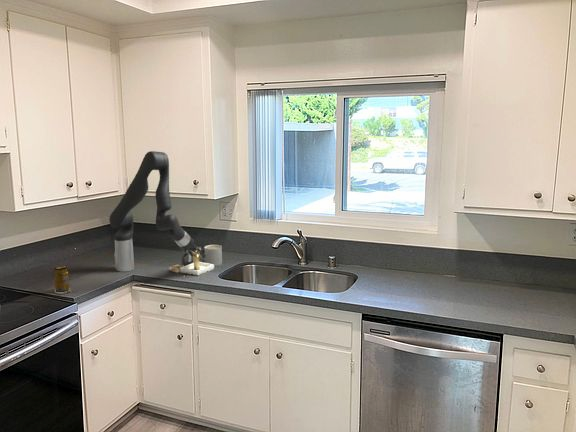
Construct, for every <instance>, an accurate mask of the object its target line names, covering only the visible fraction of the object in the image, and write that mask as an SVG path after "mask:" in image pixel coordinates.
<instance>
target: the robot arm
mask: <svg viewBox="0 0 576 432" xmlns="http://www.w3.org/2000/svg"><path fill="white" fill-rule="evenodd" d="M152 171H158V173H159V181H158V184H157V187H156V190H155V201H156V215H155V225H156V229H158V231H166V230H168V232H167V233H168V235H169V237H170V238H171V239H172V240H173V241H174V242H175V243H176V245H177V246H178V247H179V249H180V250H181V251H182V250H183V251H184V252H186V253H187V254H188V253H189V254H190V255H191V256H192V257H193V254H192V252H194V253H195V254H199V255H200V256H201V257H202V258H203V259H204V258H205V256H206V255H205V254H204V253H205V250H204V247H202V246H201V245H198V246H197V245H196V244H195V240H194V239H193V237H191V235H189V233H187V231H186V230H184V229H183V228H182V226H181V224H180V222H179V220H178V218H177V216H176V215H174V214H167V215H166V213H167V212H168V211H170V210H171V209H172V200H171V195H170V161H169V157H168V154H167V153H166V152H164V151H163V152H162V151H156V150H155V151H153V150H151V151H148V152H146V154H145V155H144V156H143V159H142V161H141V163H140V165H139V167H138V169H137V172H136V173H135V175H134V177H133V179H132V181H131V183H130V184H129V186H128V187H127V189H126V191H125V193H124V194H123V196H122V198H121V199H120V201H119V203H118V204H117V206H115V208H114V209H113V211H112V212H111V213H110V216H109V219H108V220H109V225H110V226H111V227H112V228H114V229H119V230H118V231H117V232H115V234H114V236H113V238H114V249H115V250H114V253H113V255H114V267H115V268H114V269H115V271H117V272H122V273H123V272H124V273H125V272H130V271H134V269H135V262H134V261H135V259H134V258H135V256H134V245H133V244H134V243H133V235H134V216H133V213H132V211H131V210H132V209H134V208H135V207H137V206H138V205H139V204H140V203H142V201H143V199H144V198H145V197H146V195H147V194H148V191H149V183H148V182H149V181H148V179H149V176H150V175H151V173H152ZM196 250H197V252H195V251H196ZM184 252H183V253H184Z"/></svg>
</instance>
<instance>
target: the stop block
mask: <svg viewBox="0 0 576 432" xmlns="http://www.w3.org/2000/svg"><path fill="white" fill-rule="evenodd" d="M181 267H184V266H183V264H182V265H181V264H175V265H172V266H169V272H174V273H181V272H180V268H181Z"/></svg>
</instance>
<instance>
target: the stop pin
mask: <svg viewBox="0 0 576 432" xmlns="http://www.w3.org/2000/svg"><path fill="white" fill-rule="evenodd" d="M195 252H197V250H196V251H195ZM192 254H193V263H194V270H199V269H200V263H199V262H200V259H199V254H195V253H194V252H192Z"/></svg>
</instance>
